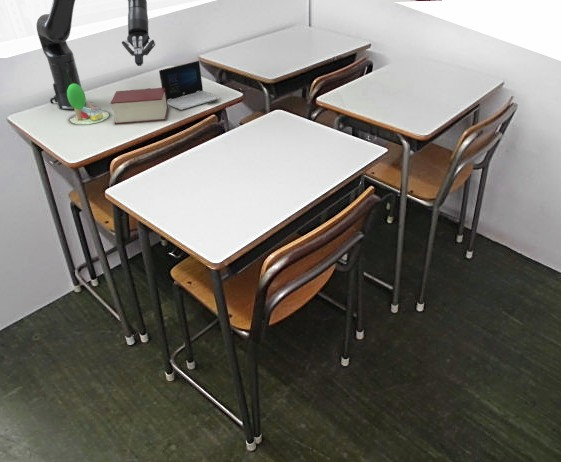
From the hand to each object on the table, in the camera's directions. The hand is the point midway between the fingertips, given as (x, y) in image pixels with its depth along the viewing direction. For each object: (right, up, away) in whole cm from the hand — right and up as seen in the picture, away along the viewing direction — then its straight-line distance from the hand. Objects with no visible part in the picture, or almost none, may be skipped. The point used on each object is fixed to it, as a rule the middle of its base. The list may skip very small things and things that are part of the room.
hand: (139, 64), depth 201 cm
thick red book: (+3, -21, -5) cm, 21 cm away
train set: (-18, -21, -4) cm, 28 cm away
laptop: (+19, -13, +6) cm, 24 cm away
